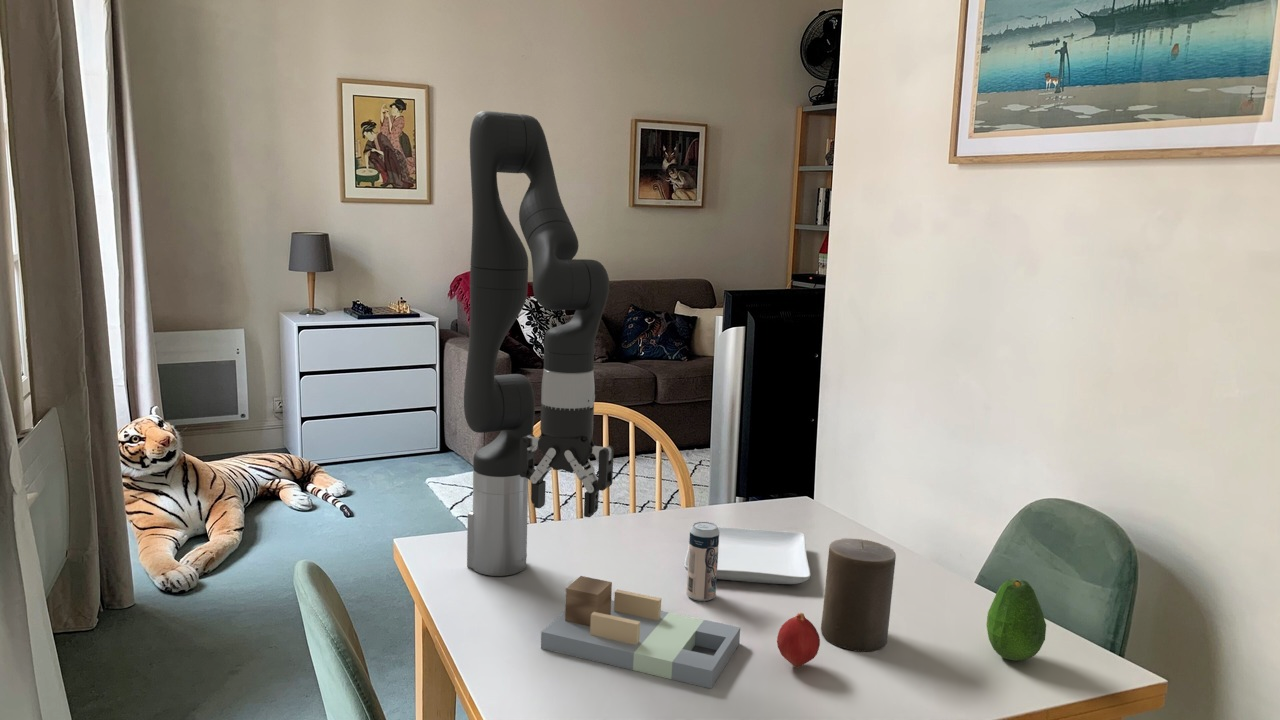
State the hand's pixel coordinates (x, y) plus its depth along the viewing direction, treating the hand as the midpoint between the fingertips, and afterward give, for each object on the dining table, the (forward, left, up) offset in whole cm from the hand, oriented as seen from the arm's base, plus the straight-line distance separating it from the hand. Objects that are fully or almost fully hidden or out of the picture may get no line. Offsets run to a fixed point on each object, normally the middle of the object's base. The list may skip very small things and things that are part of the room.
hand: (564, 511), depth 133 cm
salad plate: (+18, +37, -19) cm, 45 cm away
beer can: (+15, +20, -18) cm, 31 cm away
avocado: (+62, +20, -18) cm, 68 cm away
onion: (+34, +4, -18) cm, 39 cm away
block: (+4, 0, -15) cm, 16 cm away
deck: (+13, 0, -18) cm, 22 cm away
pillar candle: (+40, +17, -18) cm, 47 cm away
